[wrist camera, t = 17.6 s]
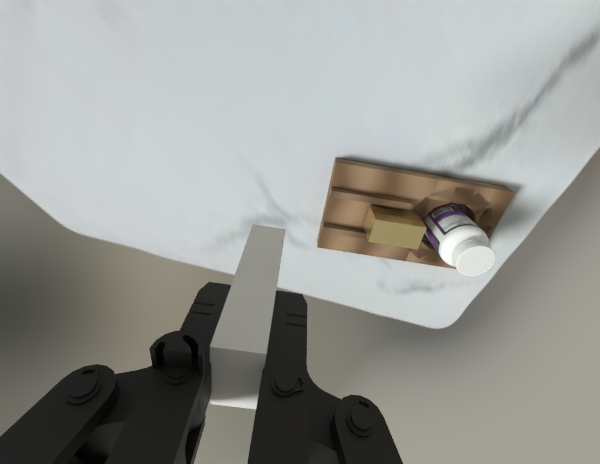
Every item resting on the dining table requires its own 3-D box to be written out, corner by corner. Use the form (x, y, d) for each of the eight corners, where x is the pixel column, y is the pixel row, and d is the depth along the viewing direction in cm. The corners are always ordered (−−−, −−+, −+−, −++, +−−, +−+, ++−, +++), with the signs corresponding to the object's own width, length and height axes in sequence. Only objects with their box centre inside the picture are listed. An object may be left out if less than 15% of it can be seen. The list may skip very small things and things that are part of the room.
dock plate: (317, 239, 42) (317, 252, 39) (335, 157, 36) (337, 165, 33) (464, 263, 43) (475, 276, 40) (505, 186, 37) (521, 196, 34)
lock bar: (363, 225, 38) (368, 241, 34) (369, 205, 36) (375, 219, 33) (408, 233, 38) (417, 249, 35) (416, 212, 37) (426, 227, 33)
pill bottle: (449, 241, 41) (484, 286, 33) (413, 232, 41) (440, 275, 32) (470, 208, 39) (514, 247, 30) (432, 197, 38) (466, 234, 30)
